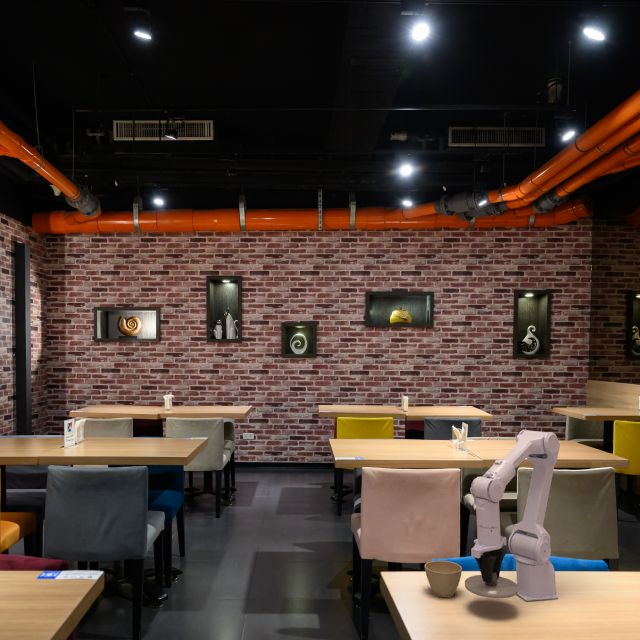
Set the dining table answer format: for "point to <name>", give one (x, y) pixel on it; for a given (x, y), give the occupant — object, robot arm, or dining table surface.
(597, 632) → the dining table surface
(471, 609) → the dining table surface
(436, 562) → the flower pot
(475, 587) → the lid
